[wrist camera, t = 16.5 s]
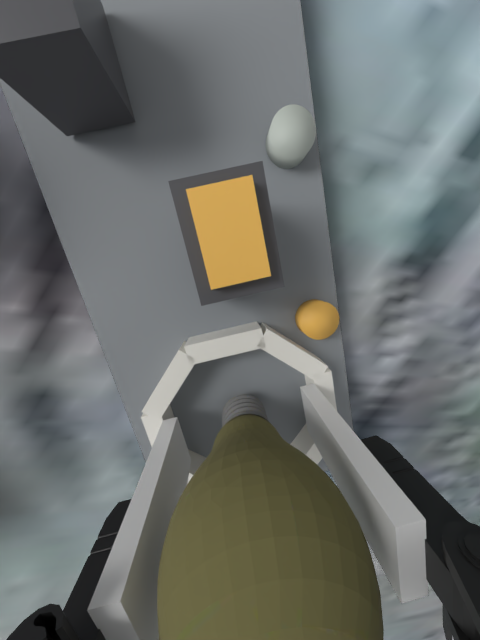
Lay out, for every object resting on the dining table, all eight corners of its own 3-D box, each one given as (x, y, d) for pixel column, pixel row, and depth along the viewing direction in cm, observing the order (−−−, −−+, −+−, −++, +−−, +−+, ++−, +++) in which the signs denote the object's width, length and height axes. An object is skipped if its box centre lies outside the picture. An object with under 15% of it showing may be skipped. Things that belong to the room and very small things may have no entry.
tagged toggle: (208, 295, 11) (199, 308, 7) (187, 213, 11) (164, 174, 6) (264, 282, 11) (288, 287, 7) (248, 199, 11) (265, 152, 6)
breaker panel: (172, 483, 16) (158, 539, 13) (-4, 0, 10) (-119, -139, 7) (341, 440, 17) (372, 484, 13) (273, -53, 10) (297, -211, 7)
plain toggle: (66, 136, 10) (-33, 50, 6) (27, 20, 9) (-120, -169, 5) (135, 122, 10) (80, 27, 6) (102, 5, 9) (14, -191, 5)
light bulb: (179, 431, 13) (59, 885, 3) (215, 348, 12) (191, 640, 2) (264, 457, 14) (361, 881, 4) (303, 381, 13) (539, 696, 3)
